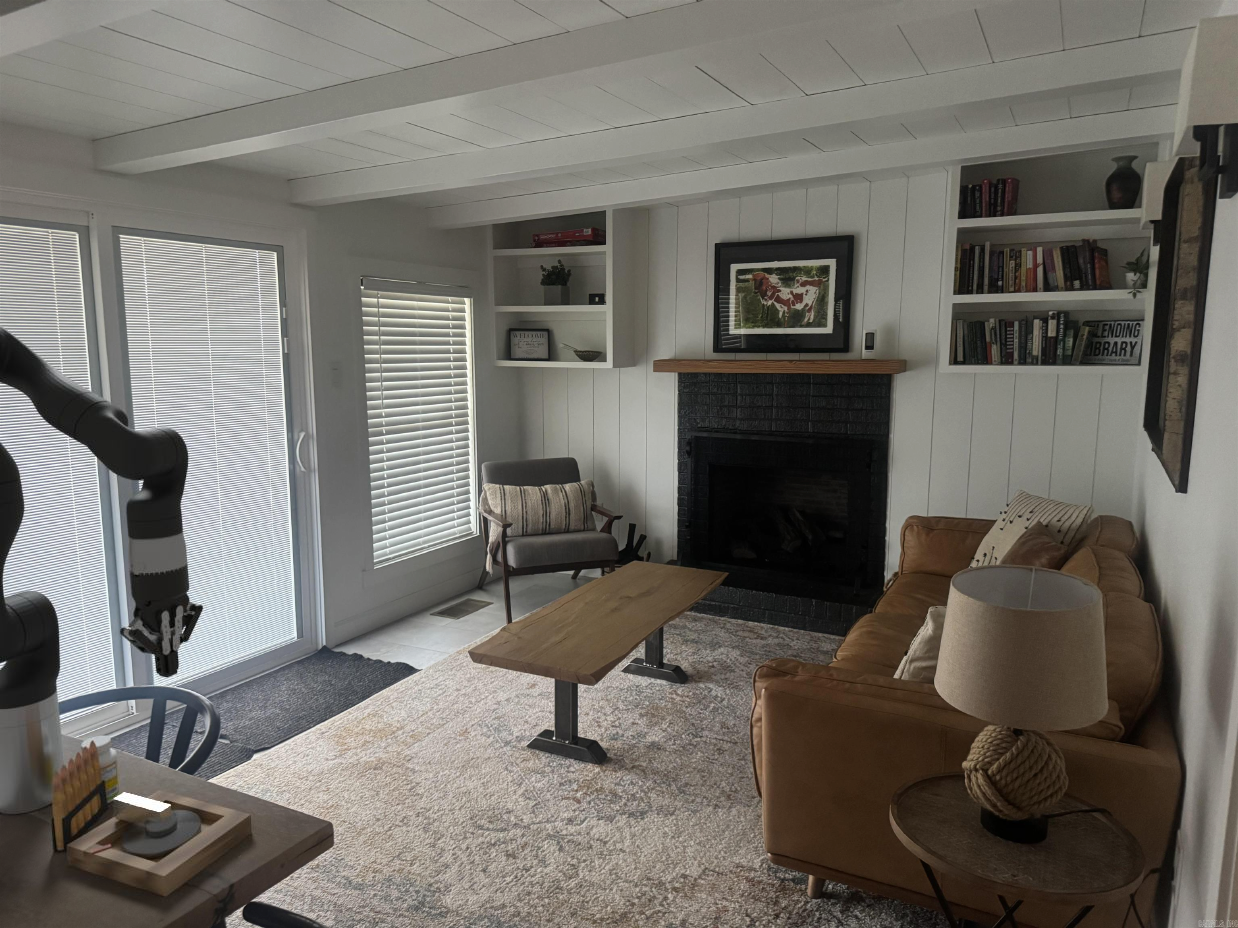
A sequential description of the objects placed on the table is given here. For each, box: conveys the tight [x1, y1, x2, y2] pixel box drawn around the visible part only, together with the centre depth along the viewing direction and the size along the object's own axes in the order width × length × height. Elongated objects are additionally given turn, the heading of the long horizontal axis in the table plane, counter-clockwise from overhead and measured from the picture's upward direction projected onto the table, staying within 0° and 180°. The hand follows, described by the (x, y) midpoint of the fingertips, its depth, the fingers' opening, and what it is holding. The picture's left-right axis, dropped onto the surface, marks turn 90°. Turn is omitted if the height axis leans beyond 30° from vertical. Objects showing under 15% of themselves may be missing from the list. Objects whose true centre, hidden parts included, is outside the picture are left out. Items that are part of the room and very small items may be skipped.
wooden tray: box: [66, 789, 253, 898], centre depth 117 cm, size 18×15×3 cm
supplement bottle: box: [80, 735, 121, 804], centre depth 129 cm, size 5×5×10 cm
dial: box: [112, 792, 201, 860], centre depth 118 cm, size 13×10×5 cm
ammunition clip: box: [50, 740, 109, 853], centre depth 121 cm, size 11×2×12 cm, turn 3°
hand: (167, 674), depth 123 cm, fingers closed
